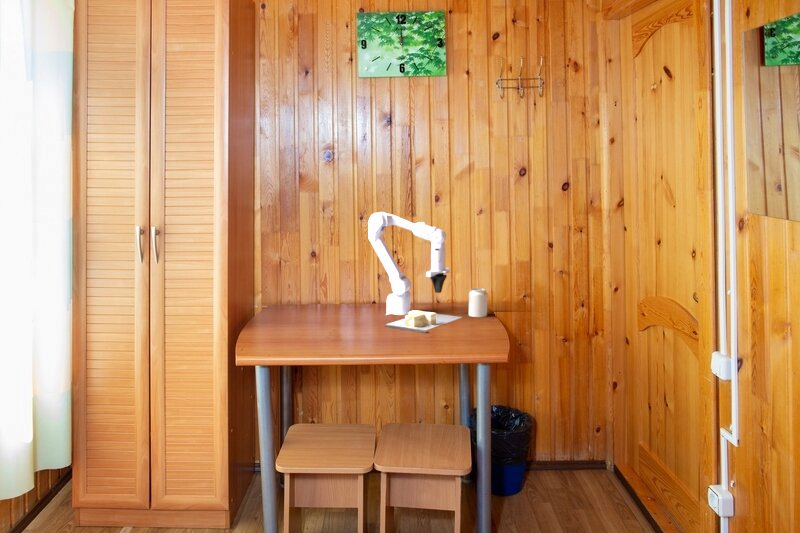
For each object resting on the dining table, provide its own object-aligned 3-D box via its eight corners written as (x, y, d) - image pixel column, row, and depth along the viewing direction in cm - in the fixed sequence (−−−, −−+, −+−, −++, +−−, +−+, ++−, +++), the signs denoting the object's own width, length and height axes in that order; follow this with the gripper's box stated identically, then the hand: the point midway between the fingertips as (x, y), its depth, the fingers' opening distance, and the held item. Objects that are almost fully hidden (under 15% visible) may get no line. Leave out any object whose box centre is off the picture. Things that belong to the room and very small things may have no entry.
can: (474, 315, 275) (475, 286, 274) (490, 317, 271) (491, 288, 269) (464, 318, 269) (465, 289, 268) (480, 320, 265) (481, 291, 263)
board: (385, 327, 253) (385, 324, 253) (424, 314, 276) (424, 312, 276) (425, 333, 243) (425, 330, 243) (462, 320, 266) (462, 317, 266)
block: (398, 325, 251) (398, 314, 251) (414, 320, 260) (414, 310, 260) (420, 328, 246) (420, 318, 245) (436, 323, 255) (436, 313, 254)
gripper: (436, 261, 260) (436, 296, 261) (456, 258, 271) (455, 290, 273) (421, 260, 264) (422, 294, 265) (441, 257, 275) (441, 289, 277)
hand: (438, 292), depth 270 cm, fingers closed
